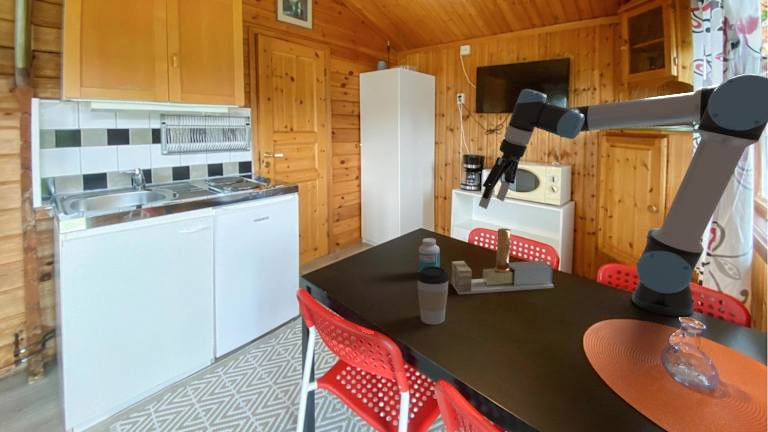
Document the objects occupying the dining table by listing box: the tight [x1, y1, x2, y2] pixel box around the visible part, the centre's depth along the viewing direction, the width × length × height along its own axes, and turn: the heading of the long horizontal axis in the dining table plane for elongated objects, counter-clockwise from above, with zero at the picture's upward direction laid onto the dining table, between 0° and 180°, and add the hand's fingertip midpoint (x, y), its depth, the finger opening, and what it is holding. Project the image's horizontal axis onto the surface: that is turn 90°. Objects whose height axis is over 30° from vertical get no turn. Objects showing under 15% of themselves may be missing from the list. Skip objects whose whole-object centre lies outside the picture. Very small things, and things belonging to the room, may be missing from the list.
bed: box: [451, 278, 555, 295], centre depth 138 cm, size 9×32×1 cm, turn 96°
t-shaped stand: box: [482, 228, 514, 285], centre depth 136 cm, size 5×20×18 cm, turn 96°
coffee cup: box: [416, 266, 450, 325], centre depth 116 cm, size 9×9×15 cm
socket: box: [451, 260, 473, 292], centre depth 136 cm, size 9×4×7 cm, turn 6°
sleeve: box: [509, 260, 554, 286], centre depth 139 cm, size 7×13×7 cm, turn 96°
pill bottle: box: [418, 237, 441, 273], centre depth 147 cm, size 8×7×14 cm
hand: (491, 203), depth 135 cm, fingers open, 13 cm apart
